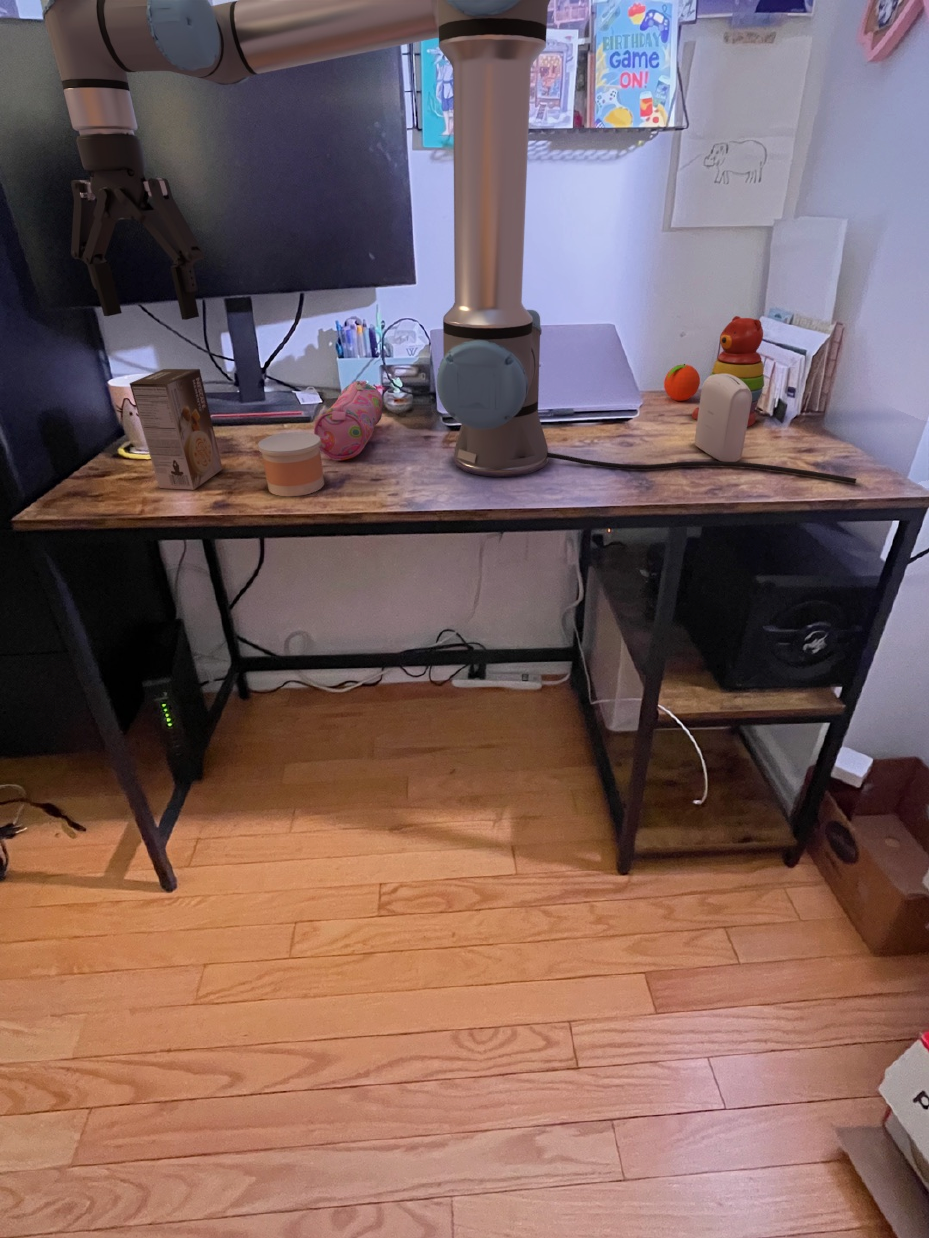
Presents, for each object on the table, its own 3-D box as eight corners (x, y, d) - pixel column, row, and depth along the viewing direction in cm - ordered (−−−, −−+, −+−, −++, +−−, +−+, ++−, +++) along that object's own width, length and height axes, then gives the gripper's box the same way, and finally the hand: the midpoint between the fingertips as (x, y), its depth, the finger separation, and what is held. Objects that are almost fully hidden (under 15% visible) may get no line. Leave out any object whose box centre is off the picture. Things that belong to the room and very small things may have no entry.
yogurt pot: (337, 478, 110) (331, 434, 106) (307, 500, 103) (300, 454, 99) (286, 473, 113) (279, 429, 109) (253, 493, 105) (244, 448, 102)
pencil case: (341, 425, 134) (335, 377, 129) (388, 425, 133) (384, 376, 129) (313, 464, 116) (305, 409, 111) (368, 463, 115) (362, 408, 111)
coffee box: (188, 468, 116) (163, 367, 107) (224, 470, 115) (201, 368, 106) (157, 488, 108) (127, 382, 100) (194, 490, 107) (168, 383, 99)
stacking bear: (687, 416, 133) (701, 315, 124) (732, 410, 136) (750, 311, 126) (721, 432, 124) (739, 325, 115) (769, 425, 127) (791, 320, 117)
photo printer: (689, 444, 119) (700, 369, 113) (713, 442, 120) (725, 367, 113) (719, 464, 111) (733, 384, 104) (744, 462, 111) (759, 382, 105)
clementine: (677, 407, 138) (682, 370, 134) (651, 400, 143) (655, 364, 139) (704, 400, 142) (710, 364, 138) (678, 394, 147) (682, 358, 143)
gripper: (208, 131, 87) (241, 315, 98) (55, 139, 95) (101, 309, 106) (168, 128, 81) (207, 324, 92) (7, 137, 89) (62, 317, 100)
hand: (151, 316), depth 99 cm, fingers open, 13 cm apart
